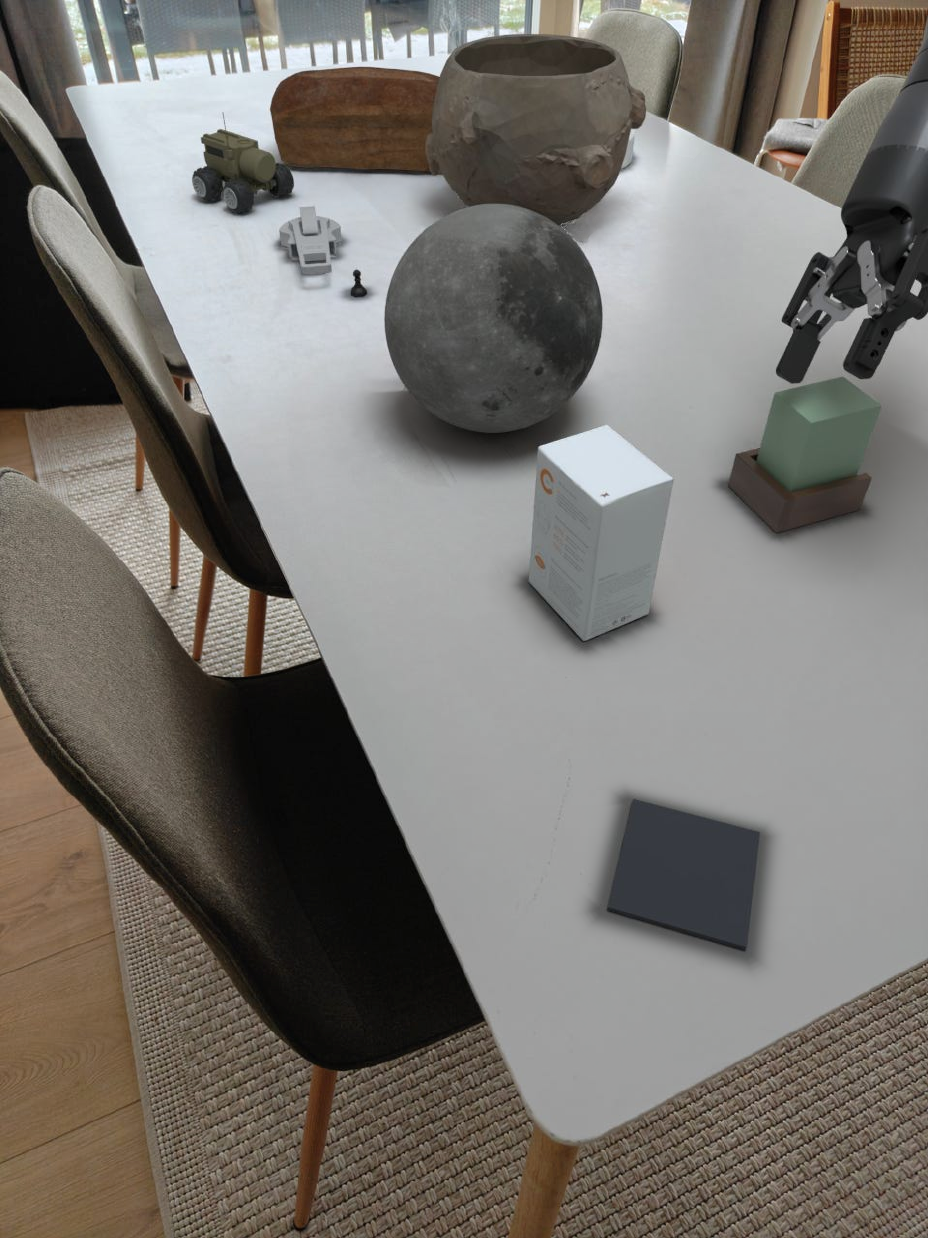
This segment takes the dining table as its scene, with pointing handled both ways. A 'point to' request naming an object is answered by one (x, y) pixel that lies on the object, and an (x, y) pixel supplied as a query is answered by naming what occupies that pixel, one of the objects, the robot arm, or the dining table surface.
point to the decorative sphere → (493, 318)
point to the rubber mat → (686, 873)
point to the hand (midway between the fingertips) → (819, 377)
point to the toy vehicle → (239, 171)
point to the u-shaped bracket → (793, 495)
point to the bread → (354, 118)
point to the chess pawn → (358, 286)
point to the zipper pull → (311, 240)
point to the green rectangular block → (817, 433)
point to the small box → (597, 529)
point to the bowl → (533, 122)
